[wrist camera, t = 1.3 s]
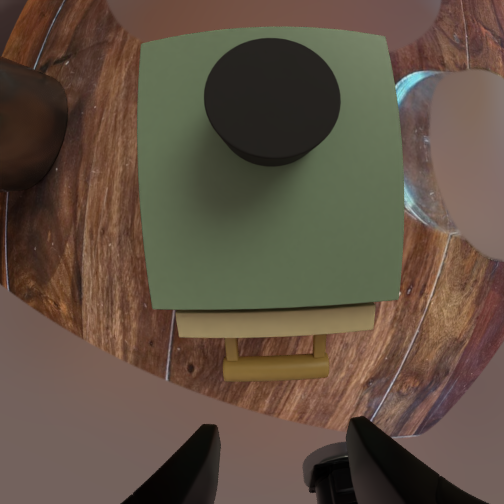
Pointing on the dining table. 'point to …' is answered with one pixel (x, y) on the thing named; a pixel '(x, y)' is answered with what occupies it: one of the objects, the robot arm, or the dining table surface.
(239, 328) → the drawer
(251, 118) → the black rubber puck
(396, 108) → the cabinet
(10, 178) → the round grey canister
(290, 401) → the dining table surface
